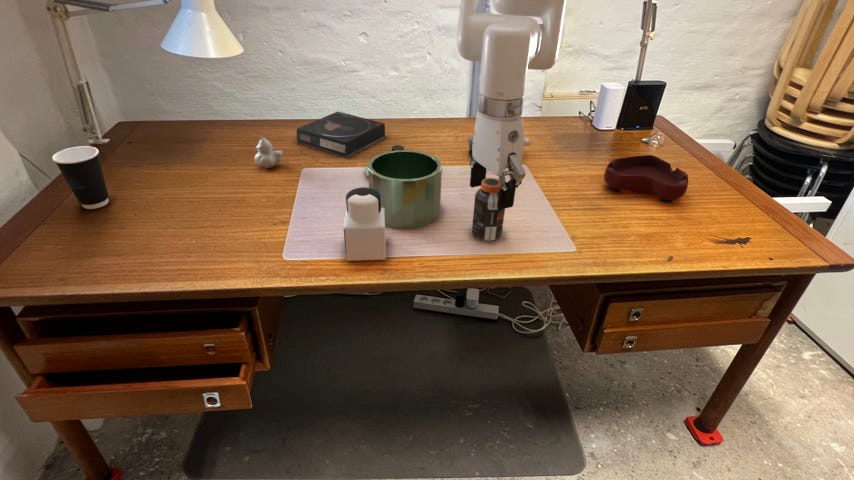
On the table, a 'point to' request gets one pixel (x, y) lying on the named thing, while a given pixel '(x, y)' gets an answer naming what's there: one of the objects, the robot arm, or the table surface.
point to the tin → (407, 187)
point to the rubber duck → (267, 154)
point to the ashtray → (646, 177)
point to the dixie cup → (83, 175)
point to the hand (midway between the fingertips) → (490, 196)
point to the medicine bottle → (364, 225)
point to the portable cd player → (341, 133)
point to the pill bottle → (487, 211)
